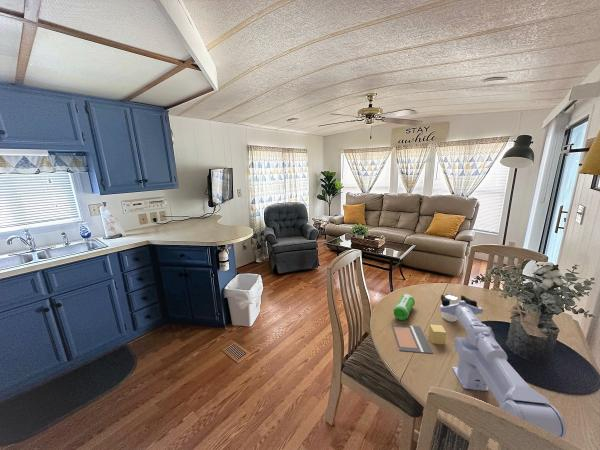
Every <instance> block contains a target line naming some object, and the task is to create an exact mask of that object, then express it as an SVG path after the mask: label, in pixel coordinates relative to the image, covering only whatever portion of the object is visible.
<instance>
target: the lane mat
mask: <svg viewBox="0 0 600 450" xmlns="http://www.w3.org/2000/svg"><path fill="white" fill-rule="evenodd" d="M391 327H392V330H393V333H394V337H395V340H396V343H397V346H398V350H399V352H411V353H421V354H423V353H424V354H433V353H434V352H433V350H432V348H431V346H430V344H429V342H428V340H427V337H426V336H425V334H424V332H423V329H422V328H421V326H420V325H419V326H418V325H407V324H406V325H405V324H391Z"/></svg>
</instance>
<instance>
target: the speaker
mask: <svg viewBox="0 0 600 450" xmlns="http://www.w3.org/2000/svg"><path fill="white" fill-rule="evenodd" d="M415 303H416V302H415V297H414V296H413V295H412V294H409V293H405V294H403V295H401V297H400V299H399V301H398V302H397V304H396V305H395V307H394V308H393V315H394V317H395V318H396V319H398V320H400V321H404V320H406V319H407V318H408V317H409V315H410V313H411V312H412V309H413V307H414V306H415Z"/></svg>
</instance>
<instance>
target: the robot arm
mask: <svg viewBox="0 0 600 450" xmlns="http://www.w3.org/2000/svg"><path fill="white" fill-rule="evenodd" d="M440 300H441V304H439V311H440V312H441V313H442V312H445V313H448V314H451V315H454V316H456V317H457V320H458V321H459V322H460V324H461V326H462V327H463V328H464V329H465V333H466V334H465V335H466V337H460V336H456V337H455V339H454V342H453V343H454V344H453V346H454V350H455V352H456V354H457V355H458V359H457V361H458V362H457V366H452V370H453V372H454V373H455V375H456V377H457V379H458V381H459V383H460V385H461V386H462V388H463V389H466V390H474V391H476V390H477V391H485V392H489V391H490V392H491V394H492V396H493V397H494V399H495V400H496V403H497V404H498V405H499V406H498V410H499V409H501V410H503V411H505V412H507V413H509V414H511V415H513V416H516V417H518V418H520V419H523V420H525V421H527V422H529V423H531V424H534V425H536V426H538V427H540V428H542V429H544V430H546V431H548V432H550V433H552V434H554V435H556V436H558V437H560V438H561V439H563V438H565V437H566V435H567V424H566V421H565V418H564V417H563V415H562V414H561V412H559V410H558V409H557V408H556V407H555V406H554V405H553V404H551V402H550V400H549V399H548V398H547V397H546V396H545V395H543V394H541V393H540V392H538V391H537V390H536V389H533V388H532V387H531V386H530V384H528V383H527V382H526V381H525V380H524V378H523V377H521V375H520V374H519V373H518V372H517V371H516V369H514V367H513V366H512V365H511V364H510V363H509V362H508V355H507V353H506V352H505V350H504V349H503V348H502V346H500V344H499V343H498V341H496V337H495V333H494V331H493V329H492V327H490V326H489V325H488V326H487V325H486V324H485V323H482V322H481V320H480V319H479V318H478V317H477V315H481V314H483V311H484V309H483V307H482V306H480V305H479V306H478V302H477V300H472V299H470V298H468V297H466V296H464V295H460V300H459V303H457V304H453V305H449V304H450V300H448V299H446V298H445V295H444V294H441V295H440ZM558 437H557V438H558Z"/></svg>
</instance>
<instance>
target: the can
mask: <svg viewBox="0 0 600 450" xmlns="http://www.w3.org/2000/svg"><path fill="white" fill-rule="evenodd" d="M444 296H445V298H446V299H448V300H450V304H449V305H453V304H457V303H459V301H460V300H459V297H458V296H457V295H455V294H450V293H447V294H445V295H444ZM441 313H442V314H441V317H442V319H443V320H444V321H448V322H450V323H455V322H457V320H458V318H457V317H456V316H454V315H451V314H448V313H445V312H441Z"/></svg>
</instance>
